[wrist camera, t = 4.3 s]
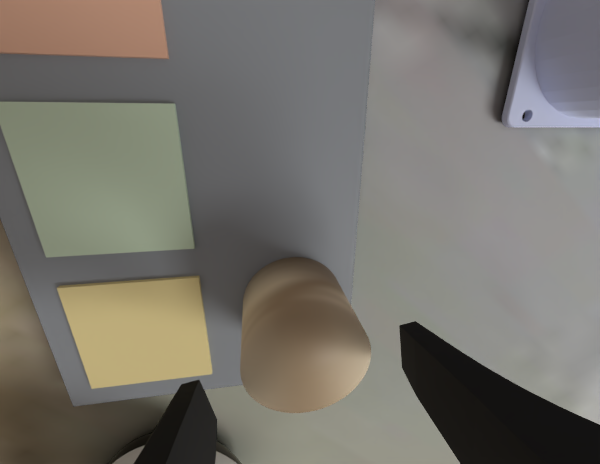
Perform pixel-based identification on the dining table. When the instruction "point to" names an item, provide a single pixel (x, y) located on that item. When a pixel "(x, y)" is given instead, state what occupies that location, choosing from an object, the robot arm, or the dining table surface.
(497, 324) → the dining table surface
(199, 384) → the robot arm
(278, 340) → the disc
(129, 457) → the spread jar
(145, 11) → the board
